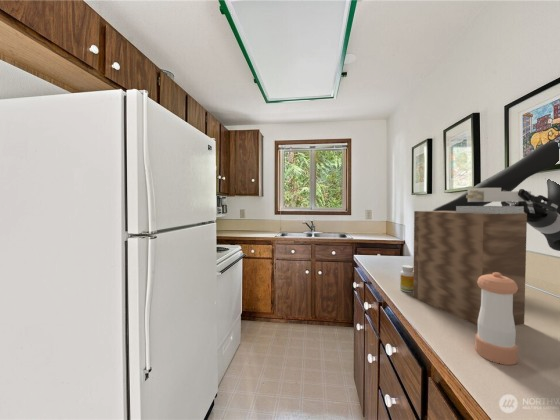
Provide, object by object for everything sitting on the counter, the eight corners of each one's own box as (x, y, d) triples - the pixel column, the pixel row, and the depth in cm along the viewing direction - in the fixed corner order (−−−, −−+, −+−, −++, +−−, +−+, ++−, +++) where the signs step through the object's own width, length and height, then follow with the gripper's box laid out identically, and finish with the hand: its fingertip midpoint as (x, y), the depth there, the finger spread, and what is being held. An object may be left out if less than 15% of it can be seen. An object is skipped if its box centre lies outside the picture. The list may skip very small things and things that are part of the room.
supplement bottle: (417, 293, 96) (417, 268, 96) (402, 292, 97) (402, 267, 97) (412, 288, 101) (412, 265, 101) (398, 287, 102) (398, 264, 102)
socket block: (456, 212, 78) (456, 206, 78) (482, 212, 81) (482, 205, 81) (494, 214, 68) (494, 206, 68) (523, 213, 71) (523, 206, 71)
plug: (462, 201, 75) (462, 188, 75) (513, 201, 81) (513, 189, 81) (480, 201, 70) (481, 187, 70) (533, 201, 76) (533, 188, 76)
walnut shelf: (413, 296, 93) (414, 211, 92) (442, 292, 96) (443, 210, 95) (488, 331, 68) (491, 214, 67) (524, 324, 71) (526, 213, 71)
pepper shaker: (467, 346, 60) (468, 268, 60) (494, 345, 61) (496, 268, 60) (495, 366, 53) (497, 278, 53) (526, 364, 54) (528, 277, 53)
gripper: (520, 207, 89) (490, 183, 84) (577, 208, 75) (545, 179, 71) (512, 226, 88) (482, 202, 83) (568, 230, 74) (536, 202, 70)
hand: (511, 192), depth 77 cm, fingers closed on plug, 4 cm apart
